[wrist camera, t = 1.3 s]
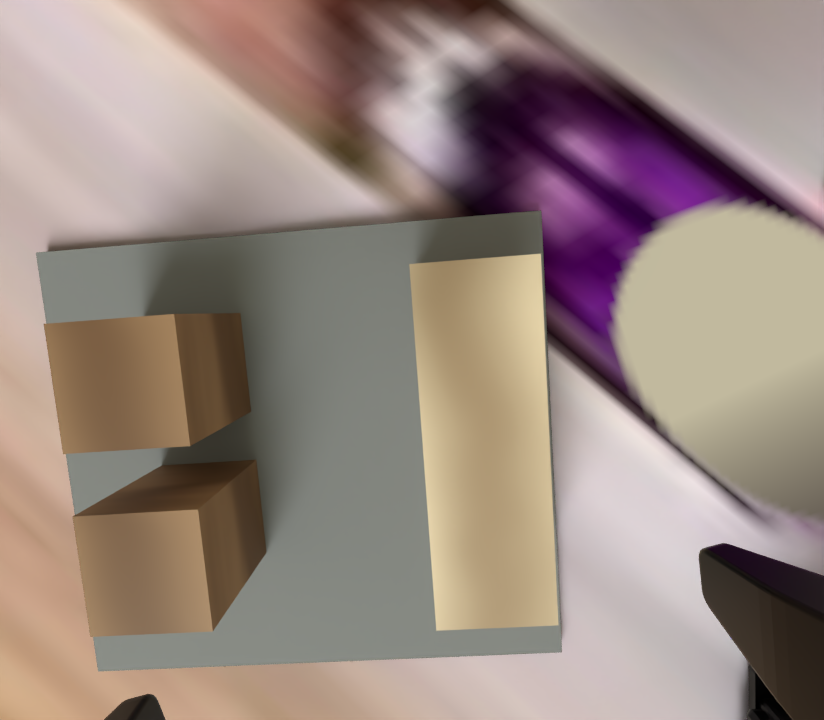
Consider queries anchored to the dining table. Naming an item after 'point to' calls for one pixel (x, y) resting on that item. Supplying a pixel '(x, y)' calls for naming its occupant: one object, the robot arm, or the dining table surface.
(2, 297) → the dining table surface
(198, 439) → the walnut post
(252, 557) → the walnut post
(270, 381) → the slate mat
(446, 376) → the maple plank
